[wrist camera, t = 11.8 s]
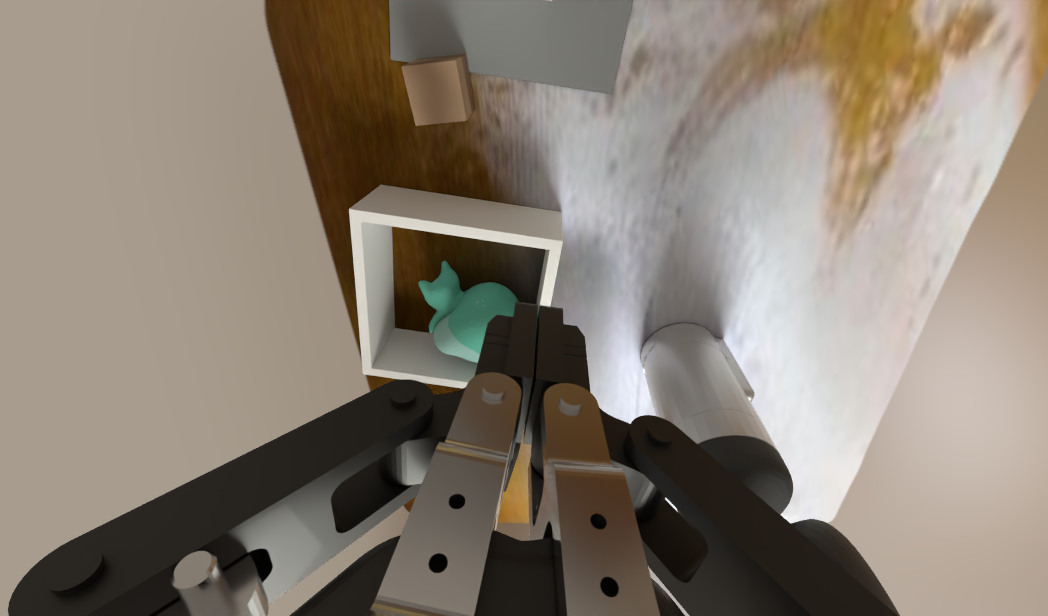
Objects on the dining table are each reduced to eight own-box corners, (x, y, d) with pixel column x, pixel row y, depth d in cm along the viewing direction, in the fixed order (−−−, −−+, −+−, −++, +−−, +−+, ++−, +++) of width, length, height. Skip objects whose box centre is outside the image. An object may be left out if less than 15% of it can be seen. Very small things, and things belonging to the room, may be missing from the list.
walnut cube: (466, 53, 37) (455, 60, 33) (475, 109, 40) (466, 120, 36) (416, 59, 37) (401, 66, 34) (428, 113, 40) (415, 125, 37)
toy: (382, 307, 45) (467, 407, 49) (433, 278, 38) (527, 398, 42) (438, 259, 51) (509, 351, 56) (490, 228, 45) (566, 336, 49)
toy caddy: (561, 212, 44) (562, 241, 37) (535, 354, 54) (532, 398, 47) (381, 184, 44) (348, 208, 37) (387, 333, 54) (362, 373, 47)
